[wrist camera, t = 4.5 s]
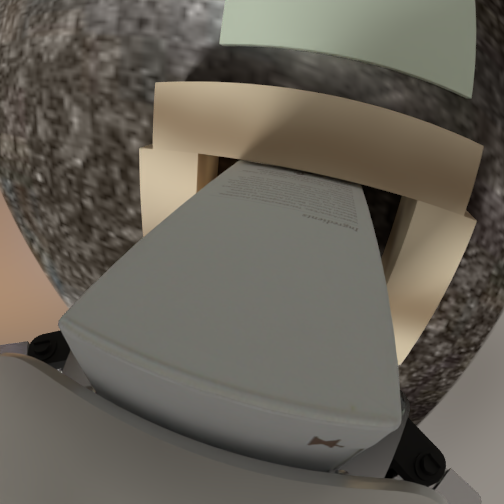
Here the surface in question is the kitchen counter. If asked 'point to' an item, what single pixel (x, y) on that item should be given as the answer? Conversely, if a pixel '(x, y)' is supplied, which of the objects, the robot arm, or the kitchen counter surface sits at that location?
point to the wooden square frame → (325, 172)
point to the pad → (366, 33)
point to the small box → (251, 321)
